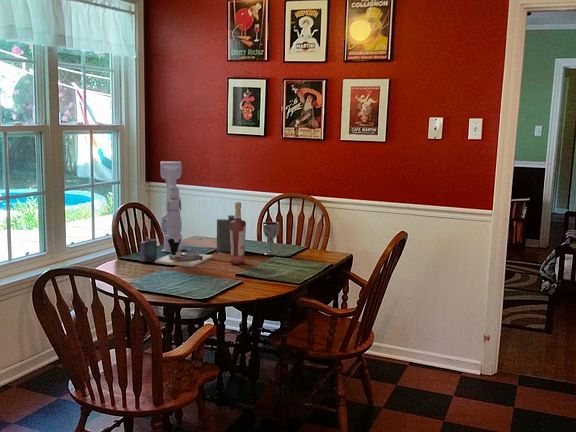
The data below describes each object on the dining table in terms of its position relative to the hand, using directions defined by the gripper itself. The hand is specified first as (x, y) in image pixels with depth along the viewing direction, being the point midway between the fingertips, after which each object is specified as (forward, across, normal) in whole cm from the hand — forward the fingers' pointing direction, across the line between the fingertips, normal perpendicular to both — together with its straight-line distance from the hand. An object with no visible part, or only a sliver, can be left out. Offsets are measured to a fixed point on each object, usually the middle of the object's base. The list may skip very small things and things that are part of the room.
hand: (174, 254), depth 278 cm
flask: (+3, -13, +30) cm, 33 cm away
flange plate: (+2, -1, +4) cm, 5 cm away
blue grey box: (+3, -6, -11) cm, 13 cm away
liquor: (+3, +12, +27) cm, 29 cm away
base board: (+3, -1, +5) cm, 6 cm away
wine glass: (+3, -4, +48) cm, 48 cm away
